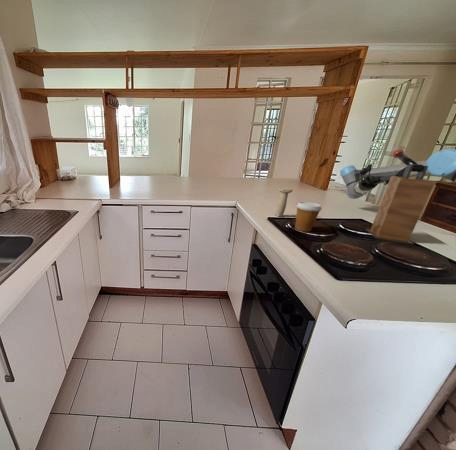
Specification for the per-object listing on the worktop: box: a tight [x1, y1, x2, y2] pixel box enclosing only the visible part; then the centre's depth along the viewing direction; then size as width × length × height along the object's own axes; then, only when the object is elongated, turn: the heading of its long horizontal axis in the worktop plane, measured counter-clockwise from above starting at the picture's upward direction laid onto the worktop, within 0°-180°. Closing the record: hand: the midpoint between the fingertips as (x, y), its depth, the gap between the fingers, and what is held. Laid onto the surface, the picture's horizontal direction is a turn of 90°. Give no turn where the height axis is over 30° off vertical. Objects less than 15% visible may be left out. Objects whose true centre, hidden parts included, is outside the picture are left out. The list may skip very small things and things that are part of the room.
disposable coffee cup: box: [294, 201, 322, 233], centre depth 106 cm, size 10×10×12 cm
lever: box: [391, 149, 423, 172], centre depth 98 cm, size 22×4×4 cm, turn 156°
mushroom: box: [275, 187, 293, 218], centre depth 124 cm, size 5×6×15 cm
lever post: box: [365, 165, 436, 246], centre depth 96 cm, size 12×12×31 cm
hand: (388, 167), depth 111 cm, fingers open, 13 cm apart
